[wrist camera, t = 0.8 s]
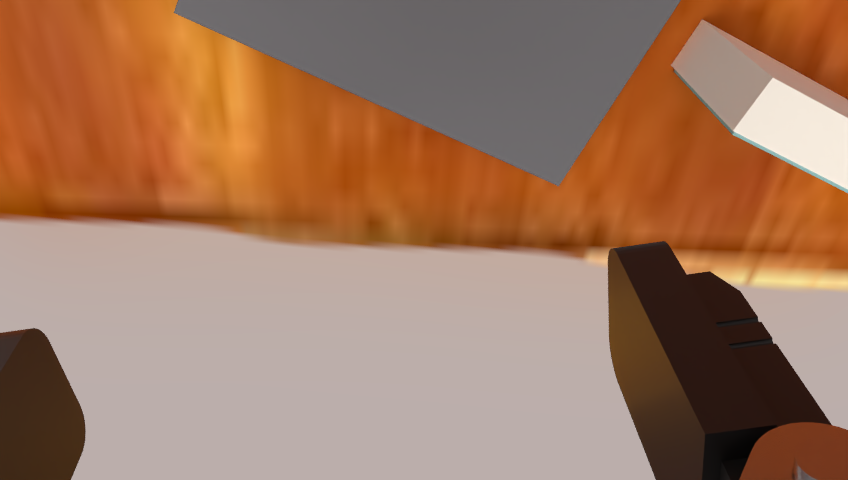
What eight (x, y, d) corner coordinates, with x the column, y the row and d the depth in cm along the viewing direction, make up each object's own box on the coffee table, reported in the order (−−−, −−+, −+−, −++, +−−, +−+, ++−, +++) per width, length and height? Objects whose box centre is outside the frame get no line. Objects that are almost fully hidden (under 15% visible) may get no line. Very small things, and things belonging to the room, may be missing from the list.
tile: (701, 18, 33) (772, 77, 27) (861, 106, 36) (958, 178, 30) (668, 67, 34) (729, 134, 28) (825, 149, 37) (913, 227, 31)
